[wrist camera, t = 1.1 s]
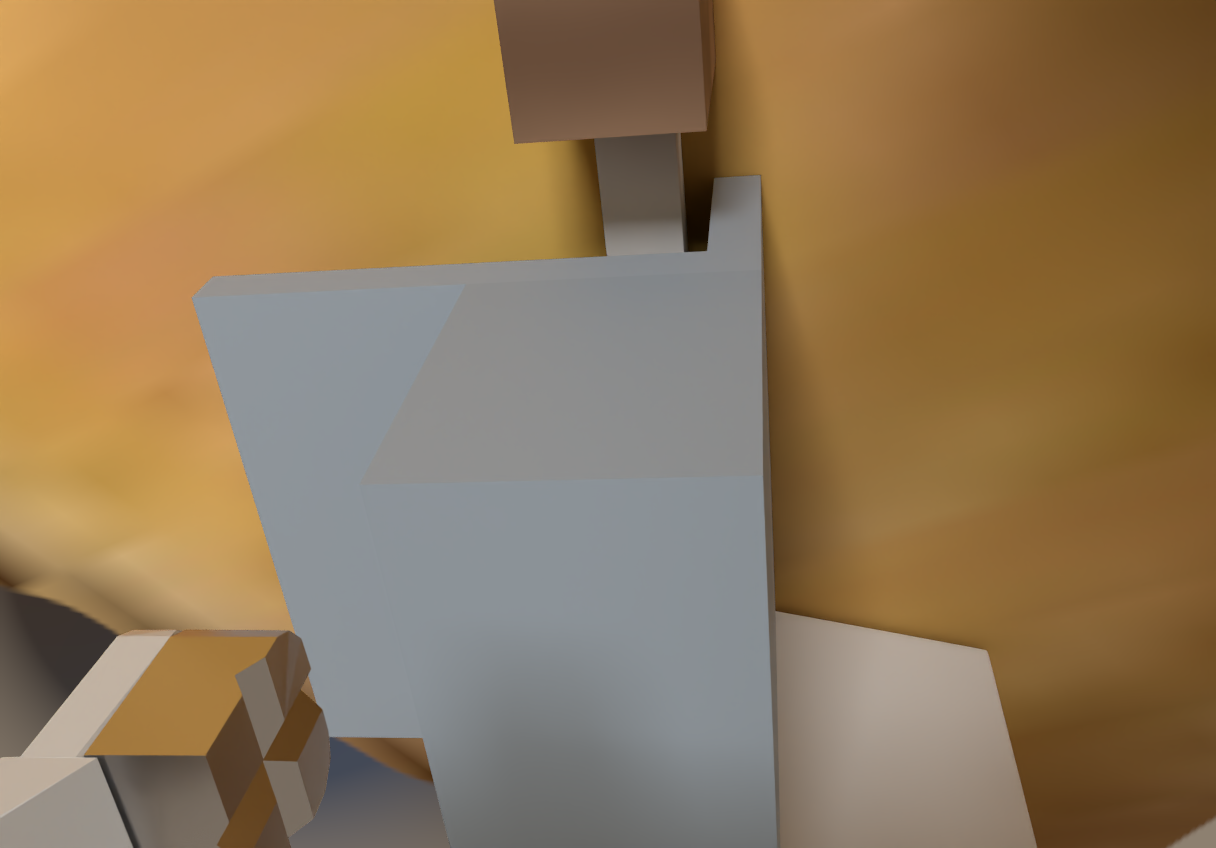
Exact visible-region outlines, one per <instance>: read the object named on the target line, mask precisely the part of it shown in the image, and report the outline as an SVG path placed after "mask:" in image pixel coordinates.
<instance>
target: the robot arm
mask: <svg viewBox="0 0 1216 848" xmlns="http://www.w3.org/2000/svg"><path fill="white" fill-rule="evenodd" d="M310 671H311V666H310V663H309V660H308V657H307V654H306V651H305V648H304V645H303V642H302V639H301V638H300V637H298V636H297V635H295V634H294V633H292V632H291V631H280V630H184V631H180V630H133V631H130V632H127V633H125V634H122V635H120V636H117V638H116V639H115V640H114V642H113V643H112V644H111V645H110V646H109V648H108V649H107V650H106V651H105V652H104V654H103V655H102V656H101V657H100V659H99V660H98V661H97V662H96V664H95V665H94V666H93V667H92V669H91V670H90V671H89V672H88V674H87V675H86V676H85V677H84V679H83V680H82V681H81V682H80V683H79V685H78V686H77V687H76V688H75V690H74V691H73V692H72V693H71V695H70V696H69V697H68V698H67V700H66V701H65V702H64V703H63V705H62V706H61V707H60V708H59V710H58V711H57V712H56V713H55V714H54V716H53V717H52V718H51V719H50V721H49V722H48V723H47V724H46V726H45V727H44V728H43V729H42V731H41V732H40V733H39V735H38V736H37V737H36V738H35V739H34V741H33V742H32V743H31V744H30V745H29V747H28V748H27V749H26V750H25V752H24V753H23V754H22V755H21V757H2V758H1V759H0V848H291V846H290V843H289V839H288V838H289V837H290V836H291V835H293V834H294V833H295V832H296V831H298V830H299V829H300V828H301V827H303V826H304V825H306V824H307V823H308V822H309V821H311V820H312V819H313V818H314V816H315V814H316V812H317V809H318V807H319V805H320V802H321V800H322V797H323V795H324V793H325V789H326V783H327V776H328V770H329V764H330V745H329V731H328V728H327V724H326V720H325V716H324V712H323V709H322V708H321V707H320V706H318V705H317V704H316V703H315V702H314V701H313V700H312V699H311V698H310V697H308V696H307V695H306V694H305V693H304V692H303V691H302V690H301V688H302V686H303V684H304V682H305V680H306V678H307V676H308V674H309V673H310Z"/></svg>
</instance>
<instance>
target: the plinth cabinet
mask: <svg viewBox="0 0 1216 848" xmlns="http://www.w3.org/2000/svg"><path fill="white" fill-rule="evenodd" d="M192 300H193V303H194V307H195V310H196V313H197V316H198V319H199V323H200V326H201V329H202V332H203V336H204V339H205V342H206V345H207V349H208V352H209V355H210V358H211V362H212V365H213V368H214V371H215V375H216V378H217V381H218V384H219V387H220V391H221V394H222V397H223V400H224V404H225V407H226V410H227V413H228V417H229V420H230V423H231V426H232V430H233V433H234V436H235V439H236V443H237V446H238V449H239V452H240V456H241V459H242V462H243V465H244V468H245V472H246V475H247V478H248V481H249V485H250V488H251V491H252V494H253V498H254V501H255V504H256V507H257V511H258V514H259V517H260V520H261V524H262V527H263V530H264V533H265V536H266V540H267V543H268V546H269V549H270V553H271V556H272V559H273V562H274V566H275V569H276V572H277V575H278V579H279V582H280V585H281V588H282V592H283V595H284V598H285V601H286V604H287V608H288V611H289V614H290V617H291V621H292V624H293V627H294V630H295V634H296V635H297V636H298V637H300V638H301V639H302V642H303V645H304V648H305V651H306V654H307V657H308V660H309V663H310V666H311V671H310V673H309V674H308V676H309V679H310V682H311V685H312V689H313V692H314V695H315V698H316V702H317V705H318V706H320V707H321V708H322V709H323V712H324V716H325V720H326V724H327V728H328V731H329V737H389V738H423V741H424V745H425V749H426V753H427V757H428V761H429V765H430V769H431V773H432V777H433V781H434V785H435V789H436V793H437V796H438V801H439V805H440V809H441V812H442V816H443V820H444V824H445V828H446V832H447V836H448V840H449V844H450V848H780V808H779V761H778V713H777V665H776V617H775V580H774V551H773V522H772V493H771V464H770V435H769V405H768V376H767V347H766V318H765V289H764V260H763V231H762V202H761V175H754V176H737V177H721V178H714V186H713V196H712V206H711V217H710V227H709V237H708V248H707V251H700V252H681V253H661V254H642V255H623V256H603V257H584V258H564V259H545V260H526V261H506V262H487V263H468V264H448V265H429V266H410V267H390V268H371V269H351V270H332V271H313V272H293V273H274V274H255V275H235V276H216V277H212V278H211V279H210V280H209V281H208V282H207V283H206V284H205V285H204V286H203V287H202V288H201V289H200V290H199V291H198V292H197V293H196V294H195V295H194V296H193V297H192Z"/></svg>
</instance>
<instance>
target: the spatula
mask: <svg viewBox="0 0 1216 848" xmlns="http://www.w3.org/2000/svg"><path fill="white" fill-rule="evenodd" d="M494 4H495V11H496V18H497V25H498V32H499V39H500V46H501V53H502V60H503V67H504V74H505V81H506V88H507V95H508V102H509V109H510V116H511V123H512V130H513V137H514V144H518V143H533V142H548V141H563V140H578V139H593V138H594V141H595V151H596V160H597V169H598V179H599V188H600V197H601V206H602V216H603V225H604V234H605V243H606V253H607V256H623V255H642V254H661V253H681V252H689V248H688V233H687V219H686V205H685V190H684V176H683V161H682V147H681V133H684V132H699V131H707V124H708V116H709V109H710V101H711V93H712V86H713V78H714V71H715V63H716V52H715V33H714V13H713V0H494Z"/></svg>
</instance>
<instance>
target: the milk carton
mask: <svg viewBox="0 0 1216 848" xmlns="http://www.w3.org/2000/svg"><path fill="white" fill-rule="evenodd" d="M775 617H776V665H777V713H778V761H779V808H780V848H1037V845H1036V841H1035V837H1034V833H1033V829H1032V825H1031V821H1030V817H1029V813H1028V809H1027V805H1026V801H1025V797H1024V793H1023V789H1022V785H1021V781H1020V777H1019V773H1018V769H1017V765H1016V761H1015V757H1014V754H1013V750H1012V746H1011V742H1010V738H1009V734H1008V730H1007V726H1006V722H1005V718H1004V714H1003V710H1002V706H1001V702H1000V698H999V694H998V690H997V686H996V682H995V678H994V674H993V670H992V666H991V662H990V658H989V655H988V652H987V651H986V650H983V649H978V648H973V647H968V646H962V645H957V644H952V643H946V642H941V641H936V640H930V639H925V638H920V637H914V636H909V635H903V634H898V633H893V632H887V631H882V630H876V629H871V628H866V627H860V626H855V625H849V624H844V623H838V622H833V621H828V620H822V619H817V618H811V617H806V616H800V615H795V614H789V613H784V612H778V611H775Z"/></svg>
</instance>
